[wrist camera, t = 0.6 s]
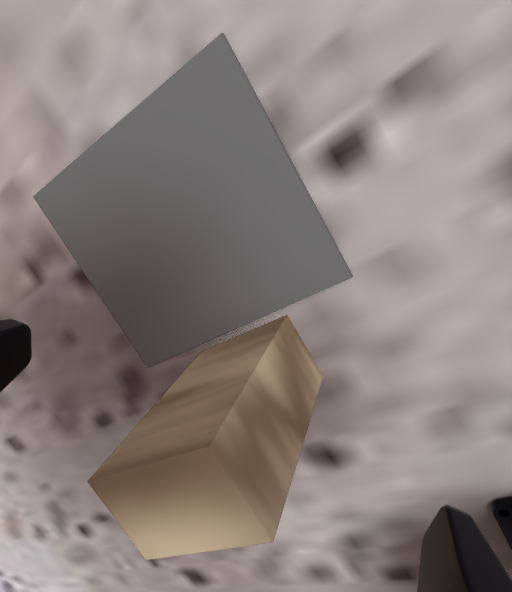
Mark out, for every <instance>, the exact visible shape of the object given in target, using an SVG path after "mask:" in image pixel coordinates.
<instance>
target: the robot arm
mask: <svg viewBox="0 0 512 592" xmlns="http://www.w3.org/2000/svg"><path fill="white" fill-rule="evenodd" d="M31 356H32V351H31V330H30V328H29V326H27V325H26V324H23V323H21V322H19V321H16V320H13V319H8V320H0V392H1V391H2V390H3V389H4V388H5V387H6V386H7V385H8V384H9V383H10V382H11V381H12V380H13V379H14V378H15V377H16V376H17V375H18V374H19V373H20V372H22V371H23V370H24V369H25V368H26V366H27V365H28V364H29V362H30V360H31ZM492 510H493V514H494V516H495V518H496V520H497V522H498V524H499V526H500V528H501V530H502V532H503V534H504V536H505V537H506V539H507V541H508V543H509V545H510V547H511V549H512V498H508V499H501V500H497V501H494V502H493V503H492ZM501 510H505V511H501ZM417 592H512V580H511V579H510V577H509V575H508V574H507V572H506V571H505V569H504V567H503V566H502V564H501V563H500V561H499V560H498V558H497V556H496V555H495V553H494V552H493V550H492V548H491V547H490V545H489V544H488V542H487V541H486V539H485V537H484V536H483V534H482V533H481V531H480V529H479V528H478V526H477V525H476V523H475V522H474V520H473V519H472V517H471V516H470V515H469V514H467V513H466V512H463V511H461V510H459V509H456V508H454V507H452V506H449V505H444V506H443V507H442V508H441V509H440V510H439V512H438V514H437V515H436V517H435V518H434V520H433V522H432V523H431V525H430V526H429V528H428V530H427V531H426V533H425V535H424V538H423V542H422V548H421V558H420V569H419V579H418V590H417Z"/></svg>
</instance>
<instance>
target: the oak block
mask: <svg viewBox="0 0 512 592" xmlns="http://www.w3.org/2000/svg"><path fill="white" fill-rule="evenodd" d="M322 379H323V376H322V374H321V372H320V370H319V369H318V367H317V365H316V364H315V362H314V360H313V358H312V357H311V355H310V353H309V351H308V350H307V348H306V346H305V344H304V343H303V341H302V339H301V338H300V336H299V334H298V332H297V331H296V329H295V327H294V325H293V324H292V322H291V320H290V319H289V317H288V315H285V316H283V317H281V318H278V319H276V320H274V321H271V322H269V323H267V324H265V325H262V326H260V327H258V328H255V329H253V330H251V331H248V332H246V333H244V334H241V335H239V336H237V337H234V338H232V339H230V340H227V341H225V342H223V343H220V344H218V345H216V346H213V347H211V348H209V349H206V350H204V351H202V352H201V353H200V354H199V355H198V356H197V357H196V358H195V359H194V361H193V362H192V363H191V364H190V365H189V366H188V367H187V369H186V370H185V371H184V372H183V373H182V374H181V375H180V377H179V378H178V379H177V380H176V381H175V382H174V383H173V385H172V386H171V387H170V388H169V389H168V390H167V391H166V393H165V394H164V395H163V396H162V397H161V398H160V399H159V401H158V402H157V403H156V404H155V405H154V406H153V407H152V408H151V410H150V411H149V412H148V413H147V414H146V415H145V416H144V418H143V419H142V420H141V421H140V422H139V423H138V424H137V426H136V427H135V428H134V429H133V430H132V431H131V432H130V434H129V435H128V436H127V437H126V438H125V439H124V440H123V442H122V443H121V444H120V445H119V446H118V447H117V448H116V450H115V451H114V452H113V453H112V454H111V455H110V456H109V458H108V459H107V460H106V461H105V462H104V463H103V464H102V465H101V467H100V468H99V469H98V470H97V471H96V472H95V473H94V475H93V476H92V477H91V478H90V479H89V480H88V481H87V482H88V483H89V484H90V486H91V487H92V488H93V490H94V491H95V492H96V494H97V495H98V496H99V498H100V499H101V500H102V502H103V503H104V504H105V506H106V507H107V509H108V510H109V511H110V513H111V514H112V515H113V517H114V518H115V519H116V521H117V522H118V523H119V525H120V526H121V527H122V529H123V530H124V531H125V533H126V534H127V535H128V537H129V538H130V539H131V541H132V542H133V543H134V545H135V546H136V547H137V549H138V550H139V551H140V553H141V554H142V555H143V557H144V558H145V559H146V560H150V559H157V558H164V557H172V556H179V555H186V554H193V553H200V552H208V551H215V550H222V549H229V548H236V547H244V546H251V545H258V544H265V543H272V542H273V541H274V538H275V535H276V531H277V528H278V525H279V521H280V518H281V515H282V511H283V508H284V505H285V501H286V498H287V495H288V491H289V488H290V485H291V482H292V478H293V475H294V472H295V468H296V465H297V462H298V458H299V455H300V452H301V448H302V445H303V442H304V438H305V435H306V432H307V429H308V425H309V422H310V419H311V415H312V412H313V409H314V405H315V402H316V399H317V395H318V392H319V389H320V385H321V382H322Z"/></svg>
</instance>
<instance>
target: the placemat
mask: <svg viewBox="0 0 512 592" xmlns="http://www.w3.org/2000/svg"><path fill="white" fill-rule="evenodd" d="M33 197H34V199H35V200H36V202H37V203H38V205H39V206H40V208H41V209H42V211H43V212H44V214H45V215H46V217H47V218H48V220H49V221H50V223H51V224H52V226H53V227H54V229H55V230H56V232H57V233H58V235H59V236H60V238H61V239H62V241H63V242H64V244H65V245H66V247H67V248H68V250H69V251H70V253H71V254H72V256H73V257H74V259H75V260H76V262H77V263H78V265H79V266H80V268H81V269H82V271H83V272H84V274H85V275H86V277H87V278H88V280H89V281H90V283H91V284H92V285H93V287H94V288H95V290H96V291H97V293H98V294H99V296H100V297H101V299H102V300H103V302H104V303H105V305H106V306H107V308H108V309H109V311H110V312H111V314H112V315H113V317H114V318H115V320H116V321H117V323H118V324H119V326H120V327H121V329H122V330H123V332H124V333H125V335H126V336H127V338H128V339H129V341H130V342H131V344H132V345H133V347H134V348H135V350H136V351H137V353H138V354H139V356H140V357H141V359H142V360H143V362H144V363H145V365H146V366H147V368H148V367H150V366H152V365H155V364H157V363H159V362H161V361H164V360H166V359H168V358H170V357H173V356H175V355H177V354H180V353H182V352H184V351H186V350H189V349H191V348H193V347H195V346H198V345H200V344H202V343H204V342H207V341H209V340H211V339H214V338H216V337H218V336H220V335H223V334H225V333H227V332H229V331H232V330H234V329H236V328H238V327H241V326H243V325H245V324H248V323H250V322H252V321H254V320H257V319H259V318H261V317H263V316H266V315H268V314H270V313H272V312H275V311H277V310H279V309H282V308H284V307H286V306H288V305H291V304H293V303H295V302H297V301H300V300H302V299H304V298H306V297H309V296H311V295H313V294H316V293H318V292H320V291H322V290H325V289H327V288H329V287H331V286H334V285H336V284H338V283H340V282H343V281H345V280H347V279H350V278H352V277H353V275H352V274H351V272H350V270H349V268H348V266H347V264H346V262H345V260H344V259H343V257H342V255H341V253H340V251H339V249H338V247H337V245H336V244H335V242H334V240H333V238H332V236H331V234H330V232H329V230H328V229H327V227H326V225H325V223H324V221H323V219H322V217H321V215H320V214H319V212H318V210H317V208H316V206H315V204H314V202H313V200H312V199H311V197H310V195H309V193H308V191H307V189H306V187H305V185H304V184H303V182H302V180H301V178H300V176H299V174H298V172H297V170H296V169H295V167H294V165H293V163H292V161H291V159H290V157H289V155H288V154H287V152H286V150H285V148H284V146H283V144H282V142H281V140H280V138H279V137H278V135H277V133H276V131H275V129H274V127H273V125H272V123H271V122H270V120H269V118H268V116H267V114H266V112H265V110H264V108H263V107H262V105H261V103H260V101H259V99H258V97H257V95H256V93H255V92H254V90H253V88H252V86H251V84H250V82H249V80H248V78H247V77H246V75H245V73H244V71H243V69H242V67H241V65H240V63H239V62H238V60H237V58H236V56H235V54H234V52H233V50H232V48H231V47H230V45H229V43H228V41H227V39H226V37H225V35H224V34H223V33H221V34H220V35H219V36H218V37H216V38H215V39H214V40H213V41H212V42H211V43H210V44H208V45H207V46H206V47H205V48H204V49H203V50H202V51H200V52H199V53H198V54H197V55H196V56H195V57H193V58H192V59H191V60H190V61H189V62H188V63H187V64H185V65H184V66H183V67H182V68H181V69H180V70H178V71H177V72H176V73H175V74H174V75H173V76H172V77H170V78H169V79H168V80H167V81H166V82H165V83H163V84H162V85H161V86H160V87H159V88H158V89H157V90H155V91H154V92H153V93H152V94H151V95H150V96H148V97H147V98H146V99H145V100H144V101H143V102H142V103H140V104H139V105H138V106H137V107H136V108H135V109H133V110H132V111H131V112H130V113H129V114H128V115H127V116H125V117H124V118H123V119H122V120H121V121H120V122H118V123H117V124H116V125H115V126H114V127H113V128H112V129H110V130H109V131H108V132H107V133H106V134H105V135H103V136H102V137H101V138H100V139H99V140H98V141H97V142H95V143H94V144H93V145H92V146H91V147H90V148H88V149H87V150H86V151H85V152H84V153H83V154H82V155H80V156H79V157H78V158H77V159H76V160H75V161H73V162H72V163H71V164H70V165H69V166H68V167H67V168H65V169H64V170H63V171H62V172H61V173H60V174H58V175H57V176H56V177H55V178H54V179H53V180H52V181H50V182H49V183H48V184H47V185H46V186H45V187H43V188H42V189H41V190H40V191H39V192H38V193H37V194H35V195H34V196H33Z"/></svg>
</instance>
